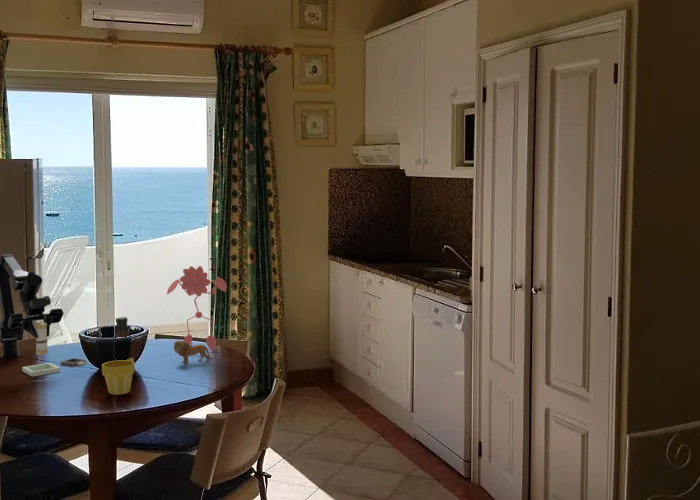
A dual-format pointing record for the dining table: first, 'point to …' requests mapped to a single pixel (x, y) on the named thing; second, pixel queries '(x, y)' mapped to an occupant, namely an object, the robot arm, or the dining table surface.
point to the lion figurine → (190, 351)
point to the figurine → (197, 285)
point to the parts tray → (40, 369)
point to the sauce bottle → (122, 329)
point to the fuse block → (73, 362)
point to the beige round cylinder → (41, 338)
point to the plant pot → (118, 376)
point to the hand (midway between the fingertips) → (42, 336)
